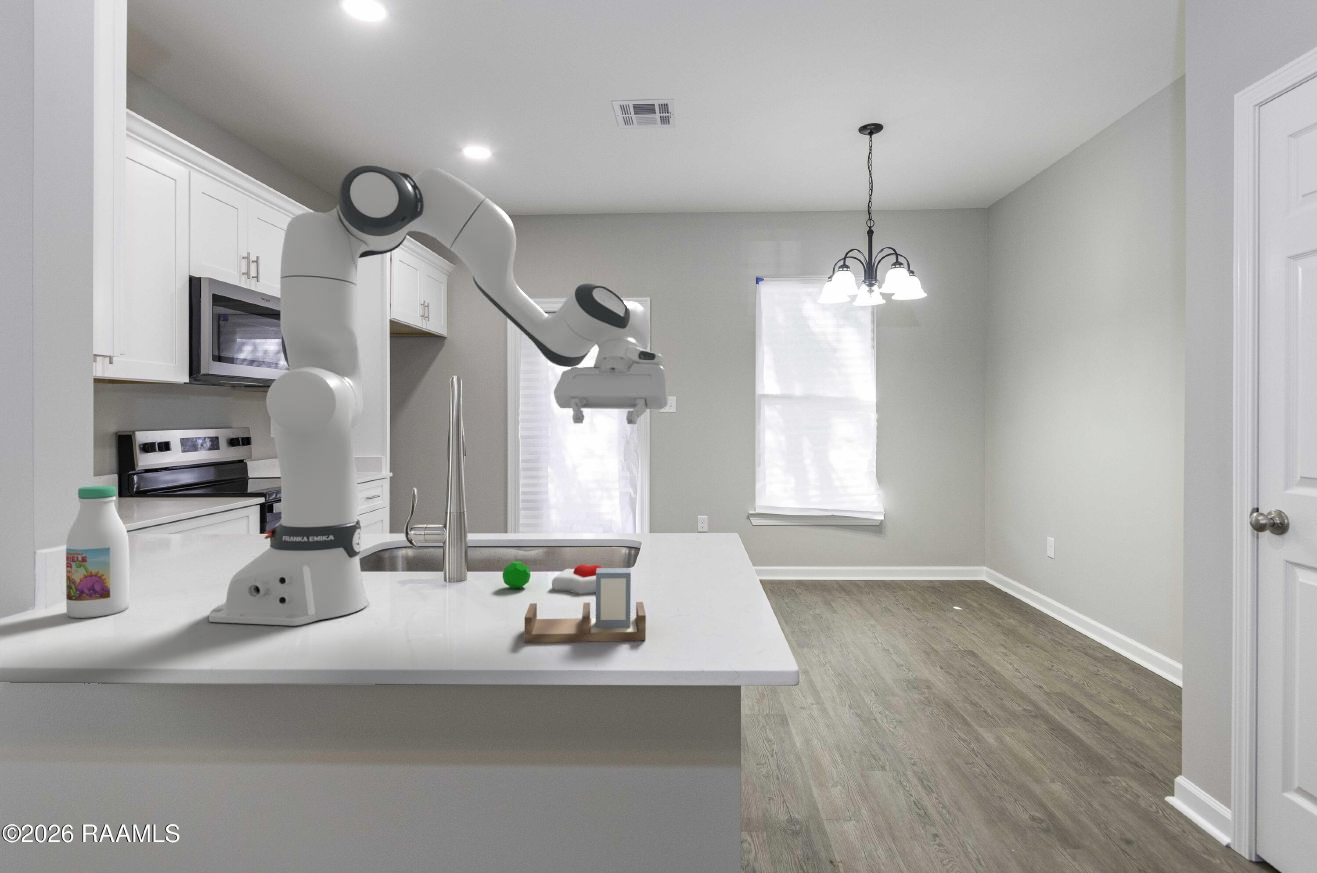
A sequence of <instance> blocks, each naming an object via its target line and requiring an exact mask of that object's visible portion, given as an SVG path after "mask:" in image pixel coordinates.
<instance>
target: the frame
mask: <svg viewBox="0 0 1317 873" xmlns="http://www.w3.org/2000/svg"><path fill="white" fill-rule="evenodd" d="M631 574H632V570H631V567H615V568H613V567H610V568H609V567H607V568H606V567H602V568H597V570H596V593H595V618H596V628H630V618H631V601H632V598H631V596H632V594H631V593H632V592H631V588H632V587H631V584H632V583H631V580H632V579H631V578H632V577H631Z"/></svg>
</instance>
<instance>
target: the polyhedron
mask: <svg viewBox="0 0 1317 873" xmlns="http://www.w3.org/2000/svg"><path fill="white" fill-rule="evenodd" d="M530 571H531V570H530V568H529V567H528V566H527V565H525V564H524V563H523V562H521V561H512V562H511V563H510V564H508V565H506V567H504V570H503V572H502V580H503V584H505V585H506V586H508V587H509V588H510V589H512V590H518V589H517V588H520V589H522V588H523V587H524V586H526V585H527V584H528V583H529V582H530V578H531V572H530Z"/></svg>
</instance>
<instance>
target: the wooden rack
mask: <svg viewBox="0 0 1317 873" xmlns="http://www.w3.org/2000/svg"><path fill="white" fill-rule="evenodd" d="M635 606H636V607H635V608H636V609H635V617H630V628H596V617H591V602H583V605H582V613H581V614H582V616H581V617H580V618H579V617H578V618H538V616H537V615H538V605H537V602H536V603H535V602H534V603H529V605H528V607H527V610H526V613H525V615H524V643H525V644H529V643H530V644H531V643H532V644H533V643H534V644H535V643H536V644H537V643H585V642H586V641H593V642H629V641H630V642H633V640H646V639H647V638H646V635H647V634H646V632H647V631H646V628H647V627H646V622H647V617H646V616H647V615H646V610H645V609H646V608H645V606H644V602H643V601H636V603H635Z"/></svg>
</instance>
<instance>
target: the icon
mask: <svg viewBox="0 0 1317 873" xmlns="http://www.w3.org/2000/svg"><path fill="white" fill-rule="evenodd" d="M597 568H603V566H601V565H598V564H592V565H586V564H579V565H577V566H575V568H566V569H564V570H562V571H561V572H560V573H559V574H557V575H556V576H555V577H553V579H552V580H551V587H552V589H553V590H554V591H556V590H563V591H562V592H570V591H573V592H572V593H574V592H575V593H574V594H577V593H578V595H588V594H587V593H589V594H595V593H594V592H596V570H597Z"/></svg>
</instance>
